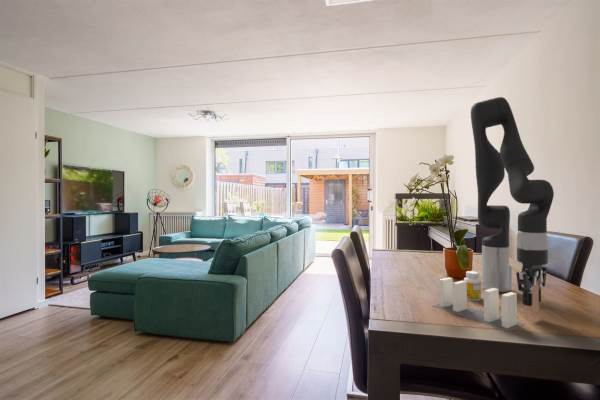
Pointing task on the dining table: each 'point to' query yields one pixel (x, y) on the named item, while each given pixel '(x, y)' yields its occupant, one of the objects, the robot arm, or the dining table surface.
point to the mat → (478, 317)
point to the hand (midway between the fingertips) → (532, 303)
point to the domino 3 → (491, 304)
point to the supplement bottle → (473, 285)
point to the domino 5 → (533, 300)
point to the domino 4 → (509, 309)
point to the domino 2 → (459, 296)
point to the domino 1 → (445, 292)
